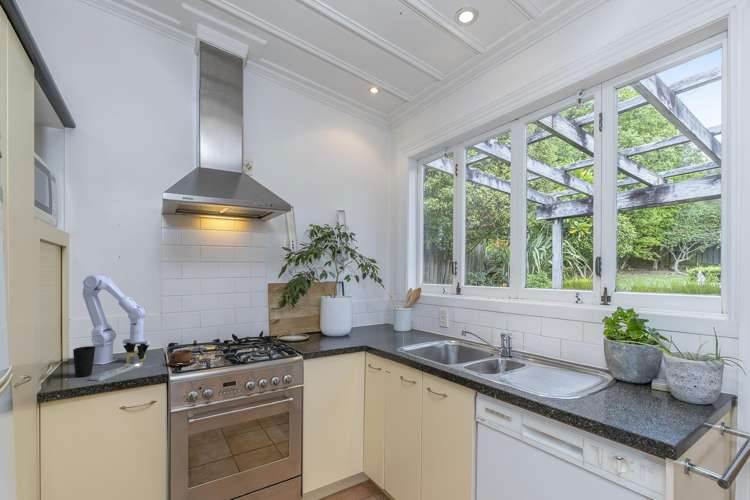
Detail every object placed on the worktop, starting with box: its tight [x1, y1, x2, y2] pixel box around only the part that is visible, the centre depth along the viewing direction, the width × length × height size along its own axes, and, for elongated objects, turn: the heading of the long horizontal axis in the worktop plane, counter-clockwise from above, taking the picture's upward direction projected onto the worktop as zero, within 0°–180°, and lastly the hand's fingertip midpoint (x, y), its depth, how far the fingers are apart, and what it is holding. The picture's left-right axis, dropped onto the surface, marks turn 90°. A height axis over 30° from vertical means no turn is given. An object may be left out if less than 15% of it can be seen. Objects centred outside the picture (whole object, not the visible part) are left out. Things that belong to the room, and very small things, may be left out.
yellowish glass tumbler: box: [125, 349, 147, 364], centre depth 174 cm, size 6×6×5 cm
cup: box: [72, 345, 96, 379], centre depth 152 cm, size 8×8×12 cm
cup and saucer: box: [168, 349, 197, 367], centre depth 170 cm, size 12×12×6 cm
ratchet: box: [90, 356, 144, 382], centre depth 157 cm, size 7×22×5 cm, turn 170°
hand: (136, 358), depth 174 cm, fingers closed on yellowish glass tumbler, 6 cm apart
